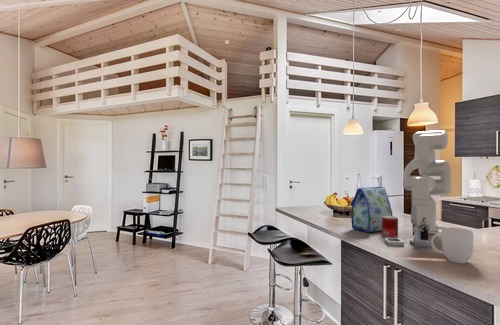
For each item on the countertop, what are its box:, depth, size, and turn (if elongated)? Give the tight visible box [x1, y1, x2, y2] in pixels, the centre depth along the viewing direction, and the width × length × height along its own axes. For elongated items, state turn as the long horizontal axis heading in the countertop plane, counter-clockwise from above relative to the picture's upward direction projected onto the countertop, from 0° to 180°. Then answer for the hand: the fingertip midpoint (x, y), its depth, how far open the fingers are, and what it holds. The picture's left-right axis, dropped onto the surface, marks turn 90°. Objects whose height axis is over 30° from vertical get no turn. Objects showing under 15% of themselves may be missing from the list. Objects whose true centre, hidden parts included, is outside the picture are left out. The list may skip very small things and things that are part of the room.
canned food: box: [381, 215, 399, 237], centre depth 167 cm, size 8×8×11 cm
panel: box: [379, 237, 435, 251], centre depth 147 cm, size 22×14×3 cm, turn 81°
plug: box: [411, 226, 426, 243], centre depth 146 cm, size 5×4×9 cm
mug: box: [430, 226, 474, 264], centre depth 127 cm, size 15×11×13 cm
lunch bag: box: [350, 186, 393, 233], centre depth 184 cm, size 22×17×26 cm
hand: (420, 237), depth 146 cm, fingers open, 9 cm apart
